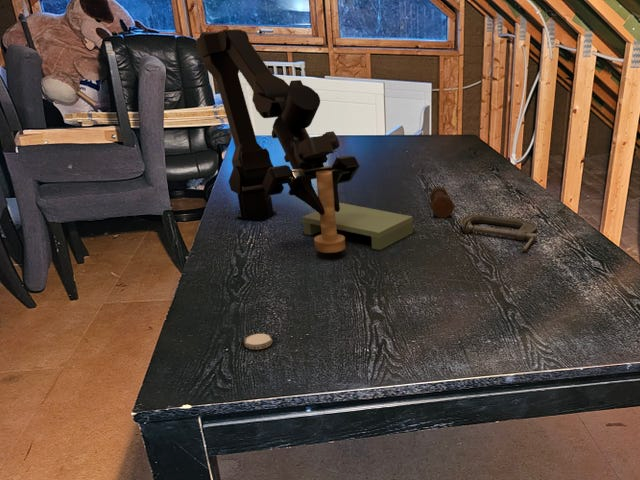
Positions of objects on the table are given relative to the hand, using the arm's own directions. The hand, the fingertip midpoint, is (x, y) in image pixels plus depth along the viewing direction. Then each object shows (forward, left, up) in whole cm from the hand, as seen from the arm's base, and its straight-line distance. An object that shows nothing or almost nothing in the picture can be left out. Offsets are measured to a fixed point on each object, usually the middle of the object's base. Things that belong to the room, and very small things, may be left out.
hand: (330, 212), depth 126 cm
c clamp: (+29, +24, -10) cm, 39 cm away
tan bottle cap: (+7, -38, -9) cm, 39 cm away
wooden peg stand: (-1, +1, -8) cm, 8 cm away
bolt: (+12, +39, -10) cm, 42 cm away
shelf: (-1, +16, -9) cm, 18 cm away
